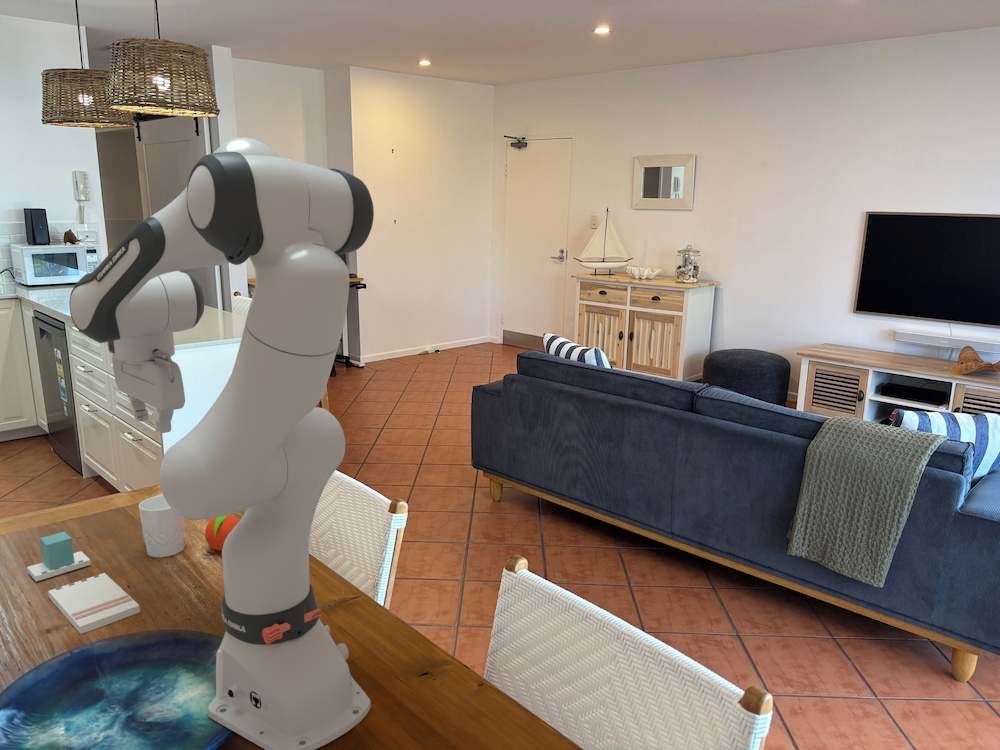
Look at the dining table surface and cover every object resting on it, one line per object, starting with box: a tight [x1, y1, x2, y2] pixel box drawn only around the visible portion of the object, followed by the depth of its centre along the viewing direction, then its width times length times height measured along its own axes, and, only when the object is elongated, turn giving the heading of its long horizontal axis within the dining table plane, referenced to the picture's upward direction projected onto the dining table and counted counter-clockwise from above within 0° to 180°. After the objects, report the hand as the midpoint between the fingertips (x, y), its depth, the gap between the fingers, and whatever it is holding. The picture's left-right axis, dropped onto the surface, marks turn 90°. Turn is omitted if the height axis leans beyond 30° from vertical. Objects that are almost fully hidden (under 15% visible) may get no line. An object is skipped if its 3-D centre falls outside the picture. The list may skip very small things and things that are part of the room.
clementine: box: [204, 515, 240, 552], centre depth 143 cm, size 8×7×7 cm
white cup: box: [138, 494, 186, 559], centre depth 143 cm, size 8×8×10 cm
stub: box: [26, 531, 92, 582], centre depth 135 cm, size 5×9×6 cm, turn 137°
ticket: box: [47, 572, 141, 635], centre depth 124 cm, size 16×9×1 cm, turn 47°
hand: (152, 425), depth 125 cm, fingers open, 8 cm apart
